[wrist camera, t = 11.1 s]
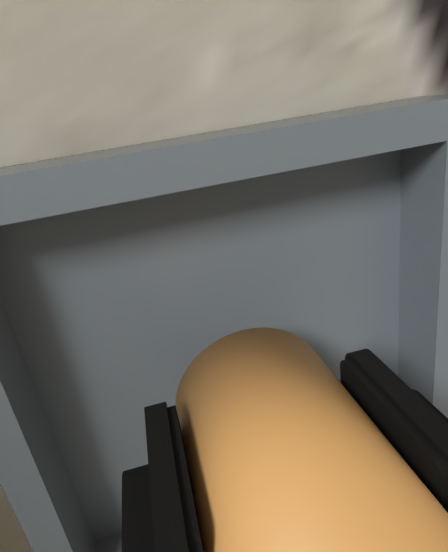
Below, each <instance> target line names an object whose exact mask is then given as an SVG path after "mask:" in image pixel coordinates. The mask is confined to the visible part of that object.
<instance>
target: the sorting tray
mask: <svg viewBox="0 0 448 552" xmlns="http://www.w3.org/2000/svg"><path fill="white" fill-rule="evenodd" d="M262 327H265V328H276V329H281V330H284V331H287V332H290V333H293V334H295V335H296V336H298V337H300V338H301V339H303V340H304V341H306V342H307V343H308V344H309V345H310V346H311V347H312V348H313V350H314V351H315V352H316V353H317V354H318V356H319V357H320V358H321V359H322V361H323V362H324V363H325V364H326V365H327V367H328V368H329V369H330V370H331V371H332V373H333V374H334V375H335V376H336V378H337V379H338V380H339V381H340V382H341V377H340V362H341V361H342V360H345V355H346V354H347V353H350V352H354V351H358V350H362V349H365V348H366V349H369V350H370V351H372V352H373V353H374V354H375V355H376V356H377V357H378V358H379V359H380V360H381V361H382V362H383V363H384V364H385V365H386V366H387V367H389V368H390V369H391V370H392V371H393V372H394V373H395V374H396V375H397V376H398V377H399V378H400V379H401V380H402V381H403V382H404V383H406V384H407V385H408V386H409V387H410V388H411V389H414V390H417V391H418V392H419V393H421V394H422V395H423V396H424V397H425V398H426V399H427V400H428V401H429V402H431V403H432V404H433V405H434V406H435V407H436V408H437V409H438V410H439V411H440V412H441V413H442V414H444V415H445V416H446V417H447V418H448V95H434V96H420V97H414V98H408V99H402V100H396V101H390V102H384V103H379V104H373V105H367V106H361V107H355V108H349V109H343V110H337V111H331V112H326V113H320V114H314V115H308V116H302V117H296V118H290V119H284V120H278V121H273V122H267V123H261V124H255V125H249V126H243V127H237V128H231V129H225V130H220V131H214V132H208V133H202V134H196V135H190V136H184V137H178V138H172V139H167V140H161V141H155V142H149V143H143V144H137V145H131V146H125V147H119V148H114V149H108V150H102V151H96V152H90V153H84V154H78V155H72V156H66V157H61V158H55V159H49V160H43V161H37V162H31V163H25V164H19V165H13V166H8V167H2V168H0V484H1V486H2V488H3V490H4V492H5V494H6V496H7V499H8V501H9V503H10V505H11V507H12V509H13V511H14V513H15V515H16V517H17V519H18V522H19V524H20V526H21V528H22V530H23V532H24V534H25V536H26V538H27V540H28V542H29V544H30V547H31V549H32V551H33V552H122V473H123V471H126V470H129V469H133V468H136V467H140V466H143V465H147V464H148V454H147V440H146V427H145V413H144V407H147V406H150V405H154V404H158V403H162V402H165V401H166V403H167V407H170V406H174V405H176V394H177V390H178V386H179V383H180V381H181V379H182V377H183V374H184V373H185V371H186V369H187V368H188V366H189V365H190V364H191V362H192V361H193V360H194V359H195V358H196V357H197V356H198V355H199V354H200V353H201V352H202V351H203V350H204V349H205V348H207V347H208V346H209V345H211V344H212V343H214V342H215V341H217V340H219V339H221V338H222V337H225V336H227V335H229V334H231V333H234V332H238V331H241V330H245V329H251V328H262Z"/></svg>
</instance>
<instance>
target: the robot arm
mask: <svg viewBox="0 0 448 552" xmlns="http://www.w3.org/2000/svg"><path fill="white" fill-rule="evenodd" d="M340 377H341V384H342V385H343V386H344V387H345V389H346V390H347V391H348V392H349V393H350V395H351V396H352V397H353V398H354V399H355V401H356V402H357V403H358V404H359V406H360V407H361V408H362V409H363V410H364V412H365V413H366V414H367V415H368V416H369V418H370V419H371V420H372V421H373V423H374V424H375V425H376V426H377V427H378V429H379V430H380V431H381V432H382V434H383V435H384V436H385V437H386V438H387V440H388V441H389V442H390V443H391V444H392V446H393V447H394V448H395V449H396V451H397V452H398V453H399V454H400V455H401V457H402V458H403V459H404V460H405V461H406V463H407V464H408V465H409V466H410V468H411V469H412V470H413V471H414V472H415V474H416V475H417V476H418V477H419V479H420V480H421V481H422V482H423V483H424V485H425V486H426V487H427V488H428V489H429V491H430V492H431V493H432V494H433V496H434V497H435V498H436V499H437V500H438V502H439V503H440V504H441V505H442V507H443V508H444V509H445V510H446V511H447V513H448V418H447V417H446V416H445V415H444V414H442V413H441V412H440V411H439V410H438V409H437V408H436V407H435V406H434V405H433V404H432V403H431V402H429V401H428V400H427V399H426V398H425V397H424V396H423V395H422V394H421V393H419V392H418V391H417V390H414V389H411V388H410V387H409V386H408V385H407V384H406V383H404V382H403V381H402V380H401V379H400V378H399V377H398V376H397V375H396V374H395V373H394V372H393V371H392V370H391V369H390V368H389V367H387V366H386V365H385V364H384V363H383V362H382V361H381V360H380V359H379V358H378V357H377V356H376V355H375V354H374V353H373V352H372V351H370V350H369V349H366V348H365V349H362V350H358V351H354V352H350V353H347V354H346V355H345V360H342V361H341V362H340ZM144 413H145V427H146V440H147V454H148V464H147V465H143V466H140V467H136V468H133V469H129V470H126V471H123V473H122V552H204V547H203V541H202V536H201V531H200V525H199V520H198V515H197V510H196V504H195V499H194V494H193V488H192V483H191V478H190V472H189V467H188V462H187V457H186V451H185V446H184V441H183V435H182V430H181V426H180V422H179V418H178V413H177V409H176V405H174V406H170V407H167V403H166V401H165V402H162V403H158V404H154V405H150V406H147V407H144Z"/></svg>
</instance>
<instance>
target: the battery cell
mask: <svg viewBox="0 0 448 552" xmlns="http://www.w3.org/2000/svg"><path fill="white" fill-rule="evenodd" d="M176 409H177V413H178V418H179V422H180V426H181V430H182V435H183V441H184V446H185V451H186V457H187V462H188V467H189V472H190V478H191V483H192V488H193V494H194V499H195V504H196V510H197V515H198V520H199V525H200V531H201V536H202V541H203V547H204V552H448V513H447V511H446V510H445V509H444V508H443V507H442V505H441V504H440V503H439V502H438V500H437V499H436V498H435V497H434V496H433V494H432V493H431V492H430V491H429V489H428V488H427V487H426V486H425V485H424V483H423V482H422V481H421V480H420V479H419V477H418V476H417V475H416V474H415V472H414V471H413V470H412V469H411V468H410V466H409V465H408V464H407V463H406V461H405V460H404V459H403V458H402V457H401V455H400V454H399V453H398V452H397V451H396V449H395V448H394V447H393V446H392V444H391V443H390V442H389V441H388V440H387V438H386V437H385V436H384V435H383V434H382V432H381V431H380V430H379V429H378V427H377V426H376V425H375V424H374V423H373V421H372V420H371V419H370V418H369V416H368V415H367V414H366V413H365V412H364V410H363V409H362V408H361V407H360V406H359V404H358V403H357V402H356V401H355V399H354V398H353V397H352V396H351V395H350V393H349V392H348V391H347V390H346V389H345V387H344V386H343V385H342V384H341V382H340V381H339V380H338V379H337V378H336V376H335V375H334V374H333V373H332V371H331V370H330V369H329V368H328V367H327V365H326V364H325V363H324V362H323V361H322V359H321V358H320V357H319V356H318V354H317V353H316V352H315V351H314V350H313V348H312V347H311V346H310V345H309V344H308V343H307V342H306V341H304V340H303V339H301V338H300V337H298V336H296V335H295V334H293V333H290V332H287V331H284V330H281V329H276V328H265V327H262V328H251V329H245V330H241V331H238V332H234V333H231V334H229V335H227V336H225V337H222V338H221V339H219V340H217V341H215V342H214V343H212V344H211V345H209V346H208V347H207V348H205V349H204V350H203V351H202V352H201V353H200V354H199V355H198V356H197V357H196V358H195V359H194V360H193V361H192V362H191V364H190V365H189V366H188V368H187V369H186V371H185V373H184V374H183V377H182V379H181V381H180V383H179V386H178V390H177V394H176Z"/></svg>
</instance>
